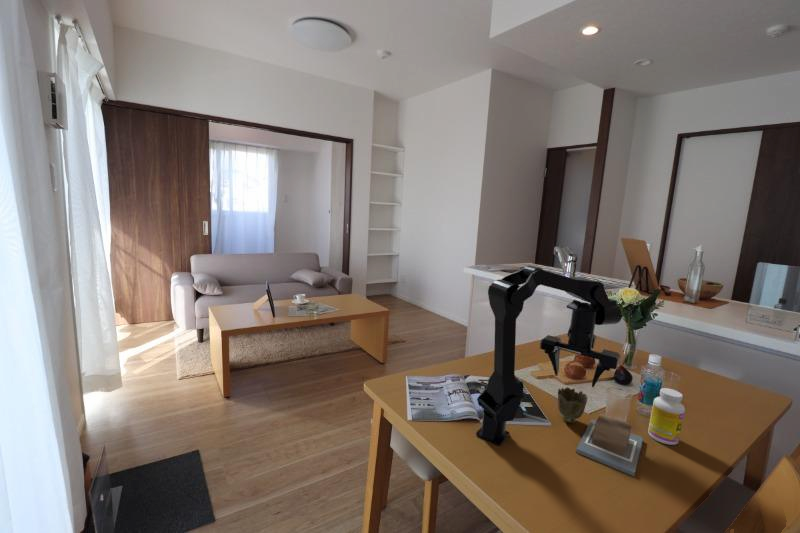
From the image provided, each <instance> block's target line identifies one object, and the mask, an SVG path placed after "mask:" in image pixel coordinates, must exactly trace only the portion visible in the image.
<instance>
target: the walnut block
mask: <svg viewBox="0 0 800 533" xmlns="http://www.w3.org/2000/svg"><path fill="white" fill-rule="evenodd" d="M632 426H633V424H632V423H631V422H627V421H625V420H623V419H619V418H615V417H613V416H610V415H607V414H605V413H601V412H600V414H599V416H598V417H597V419H596V423H595V427H594V434H593V440H592V443H593V444H595V445H598V446H600V447H603V448H606V449H608V450H611V451H613V452H616V453H618V454H621V455H623V456H625V453H626V450H627V446H628V443H629V438H630V433H631V431H632Z"/></svg>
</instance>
